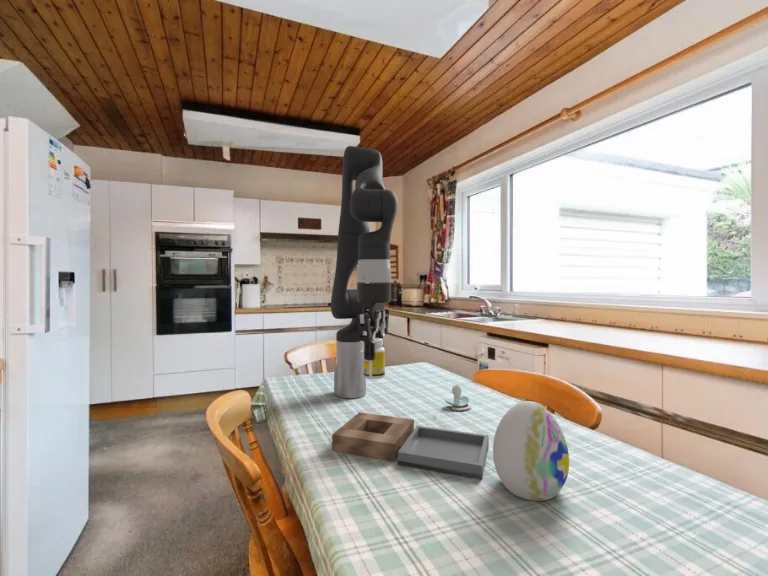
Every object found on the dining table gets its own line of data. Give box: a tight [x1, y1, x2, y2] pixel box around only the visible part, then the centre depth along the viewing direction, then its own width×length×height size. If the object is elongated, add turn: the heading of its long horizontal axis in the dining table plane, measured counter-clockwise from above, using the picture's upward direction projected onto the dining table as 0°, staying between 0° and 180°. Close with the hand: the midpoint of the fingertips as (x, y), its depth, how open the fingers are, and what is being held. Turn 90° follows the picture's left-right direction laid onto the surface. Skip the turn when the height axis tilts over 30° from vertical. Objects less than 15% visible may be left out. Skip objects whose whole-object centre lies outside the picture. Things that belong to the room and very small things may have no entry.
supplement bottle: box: [363, 338, 386, 380], centre depth 83 cm, size 5×5×8 cm
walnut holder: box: [331, 411, 415, 462], centre depth 83 cm, size 14×14×4 cm
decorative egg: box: [492, 400, 570, 502], centre depth 65 cm, size 12×12×15 cm
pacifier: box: [445, 384, 472, 412], centre depth 106 cm, size 7×6×6 cm
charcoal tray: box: [397, 425, 490, 480], centre depth 77 cm, size 16×14×2 cm
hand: (374, 356), depth 83 cm, fingers closed on supplement bottle, 4 cm apart
